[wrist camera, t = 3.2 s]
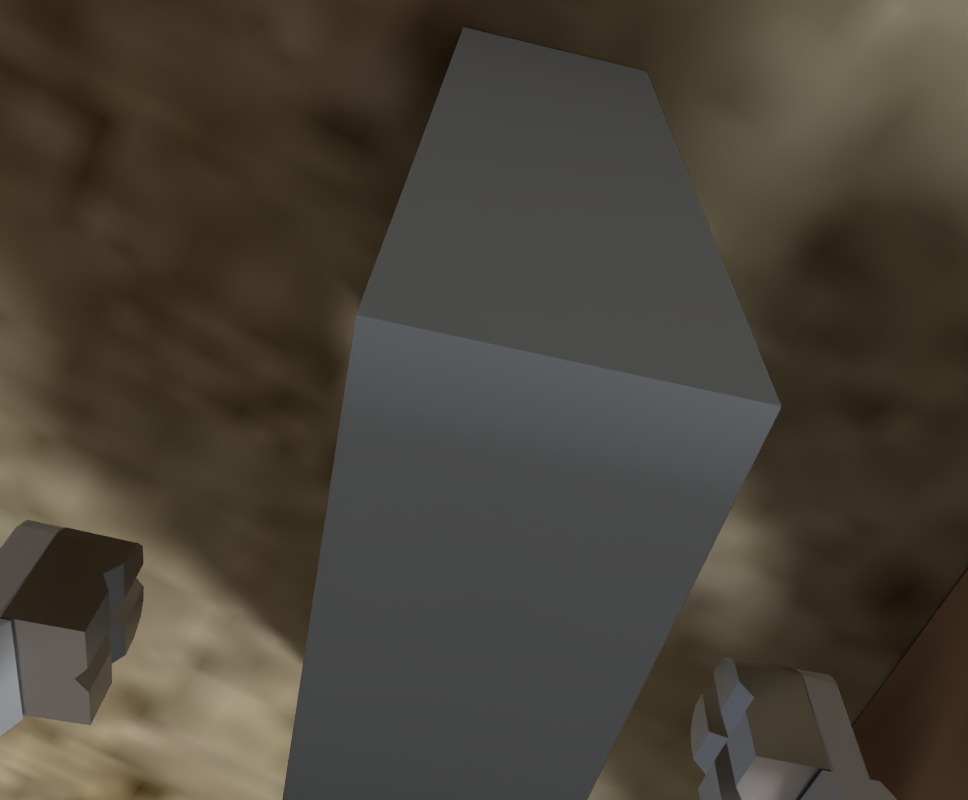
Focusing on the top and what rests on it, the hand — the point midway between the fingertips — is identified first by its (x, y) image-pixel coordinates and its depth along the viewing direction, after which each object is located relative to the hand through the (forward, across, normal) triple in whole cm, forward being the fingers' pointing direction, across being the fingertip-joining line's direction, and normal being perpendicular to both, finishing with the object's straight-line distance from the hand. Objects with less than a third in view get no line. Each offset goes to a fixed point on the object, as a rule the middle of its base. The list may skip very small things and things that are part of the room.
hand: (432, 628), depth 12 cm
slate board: (+4, 0, 0) cm, 4 cm away
